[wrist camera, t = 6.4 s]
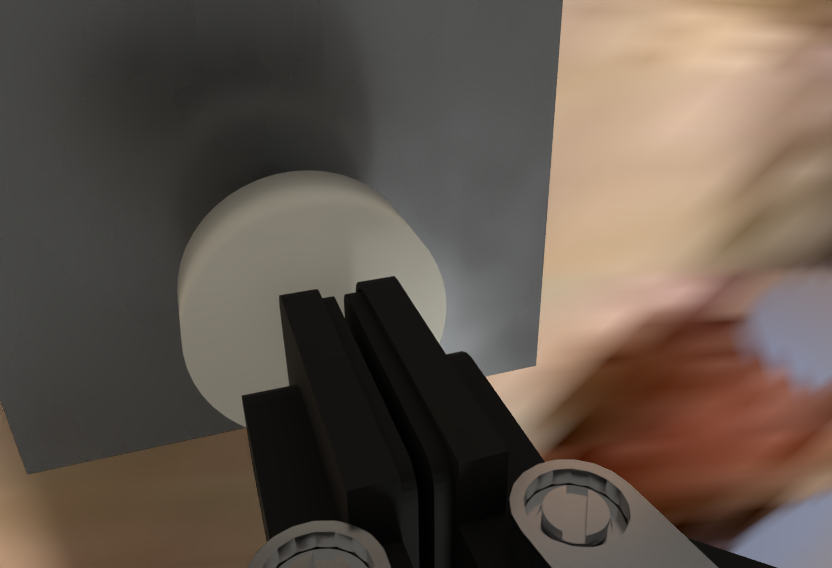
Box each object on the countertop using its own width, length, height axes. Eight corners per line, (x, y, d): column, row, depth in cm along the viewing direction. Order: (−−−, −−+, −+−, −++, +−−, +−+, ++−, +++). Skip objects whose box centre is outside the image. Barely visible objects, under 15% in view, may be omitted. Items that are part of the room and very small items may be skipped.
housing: (476, 294, 22) (535, 365, 19) (47, 371, 19) (27, 474, 16) (496, -477, 14) (606, -594, 11) (-249, -570, 11) (-425, -776, 7)
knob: (379, 294, 18) (446, 407, 14) (190, 327, 16) (204, 461, 12) (371, 113, 15) (446, 186, 12) (153, 135, 14) (156, 225, 10)
